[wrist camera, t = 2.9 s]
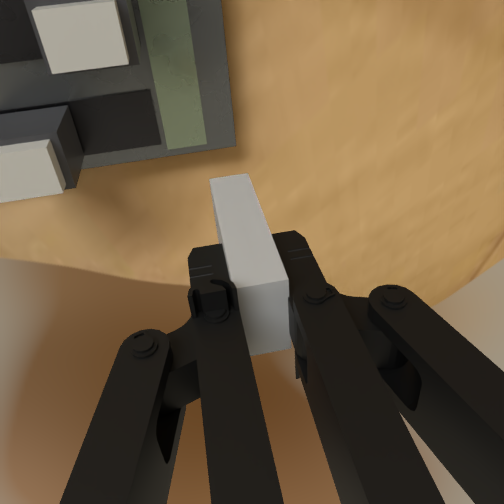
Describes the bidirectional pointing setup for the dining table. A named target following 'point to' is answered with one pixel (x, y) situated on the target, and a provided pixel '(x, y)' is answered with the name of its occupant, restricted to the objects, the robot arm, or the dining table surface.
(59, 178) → the block
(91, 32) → the breaker mid row
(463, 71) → the dining table surface
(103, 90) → the panel
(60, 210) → the dining table surface
